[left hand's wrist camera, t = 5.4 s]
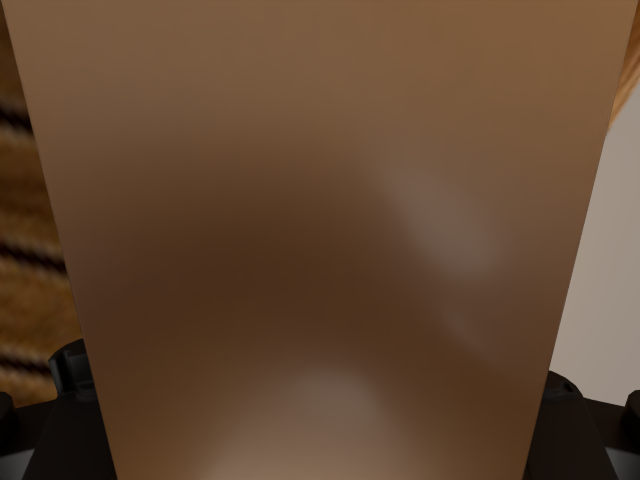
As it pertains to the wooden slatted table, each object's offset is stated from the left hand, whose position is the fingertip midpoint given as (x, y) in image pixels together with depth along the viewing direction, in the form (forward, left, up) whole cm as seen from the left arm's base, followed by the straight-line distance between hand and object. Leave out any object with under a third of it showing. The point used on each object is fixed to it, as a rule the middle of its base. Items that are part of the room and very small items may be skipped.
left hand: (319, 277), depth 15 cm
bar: (-2, +8, -1) cm, 9 cm away
